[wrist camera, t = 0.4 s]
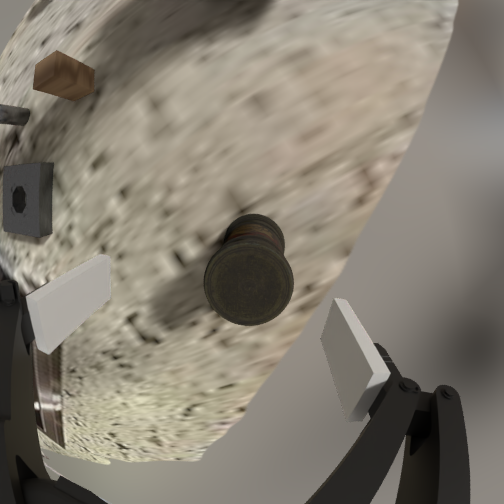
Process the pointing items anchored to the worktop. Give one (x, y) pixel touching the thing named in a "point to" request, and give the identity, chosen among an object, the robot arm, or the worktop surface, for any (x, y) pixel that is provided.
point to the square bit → (63, 77)
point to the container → (250, 272)
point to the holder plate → (28, 199)
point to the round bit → (13, 115)
